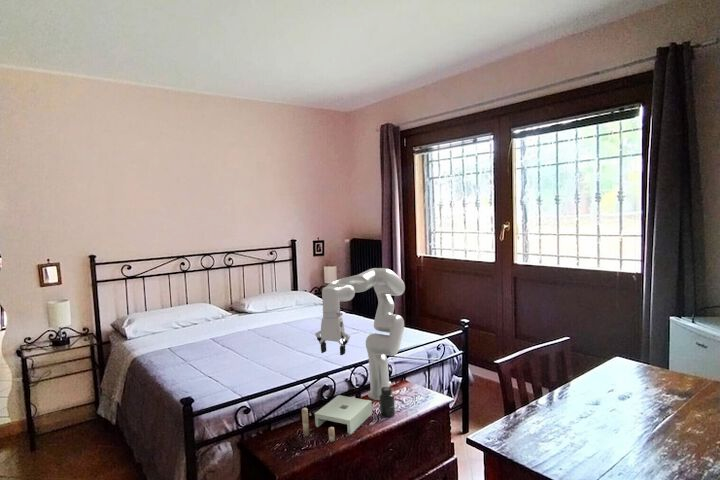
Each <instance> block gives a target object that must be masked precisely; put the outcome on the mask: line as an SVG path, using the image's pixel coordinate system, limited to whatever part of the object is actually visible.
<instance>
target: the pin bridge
mask: <svg viewBox="0 0 720 480" xmlns="http://www.w3.org/2000/svg"><path fill="white" fill-rule="evenodd" d="M372 403H373V402H372V400H369V399H363V398H356V397H352V396H351V397H350V396H346V395H341V394H338V395H336V396H335V397H334V398H332V399H331V400H330V401H329V402H327V403H326V404H325V405H324V406H322V407H321V408H320V409H318V410H317V411H316V412H314V422H315V423H314V424H315V427H316V428H319V427H321V425H323V424H324V423H325V422H327V421H329V422H333V423H339V424H343V425H347V426H346V427H347V434H348V435H352V434H353V433H354V432H355V431H356V430H357V429H358V428H359V427H360V426H361V425H362V424H363V423H364V422H365V421H366V420H367V419H368V418H369V417H370V416H371V415H372V414H373V405H372Z"/></svg>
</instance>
